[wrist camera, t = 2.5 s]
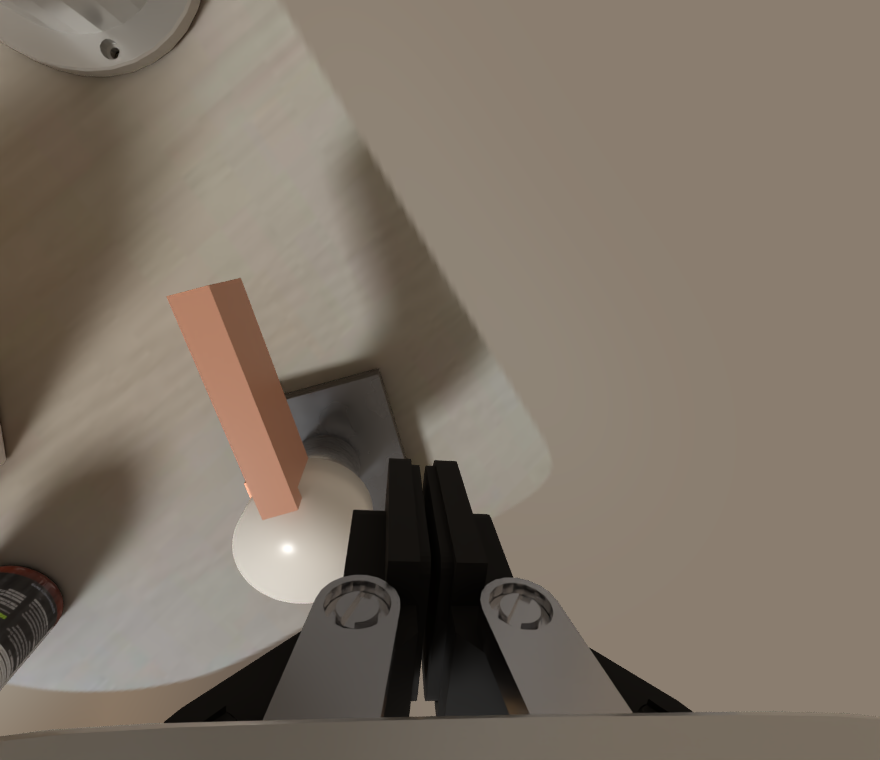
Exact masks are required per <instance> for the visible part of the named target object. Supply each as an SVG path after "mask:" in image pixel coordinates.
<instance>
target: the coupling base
mask: <svg viewBox="0 0 880 760" xmlns="http://www.w3.org/2000/svg"><path fill="white" fill-rule="evenodd" d="M284 395H285V397H286V400H287V403H288V405H289V408H290V411H291V413H292V416H293V419H294V421H295V424H296V427H297V429H298V432H299V435H300V437H301V440H302V443H303V445H304V448H305V451H306V453H307V456H308V458H319V459H326V460H329V461H333V462H336V463H338V464H341V465H343V466H344V467H346V468H348V469H349V470H351V471H352V472H354V473H355V474H356V475H357V476H358V477H359V478H360V479H361V480H362V482H363V483H364V484H365V486H366V488H367V489H368V491H369V494H370V496H371V500H372V505H373V510H380V511H385V501H386V488H387V475H388V463H389V458H397V459H406V456H405V453H404V450H403V446H402V443H401V440H400V437H399V433H398V430H397V427H396V423H395V420H394V417H393V413H392V410H391V407H390V404H389V400H388V397H387V394H386V390H385V387H384V384H383V380H382V377H381V374H380V371H379V368H378V369H374V370H371V371H367V372H363V373H360V374H356V375H352V376H349V377H345V378H341V379H338V380H334V381H330V382H327V383H323V384H319V385H316V386H312V387H308V388H305V389H301V390H297V391H294V392H290V393H286V394H284ZM244 485H245V487H246V489H247V492H248V494H249V496H250V499H251V497H252V495H251V493H250V490H249V488H248V486H247V483H246V481H245V483H244Z"/></svg>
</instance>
